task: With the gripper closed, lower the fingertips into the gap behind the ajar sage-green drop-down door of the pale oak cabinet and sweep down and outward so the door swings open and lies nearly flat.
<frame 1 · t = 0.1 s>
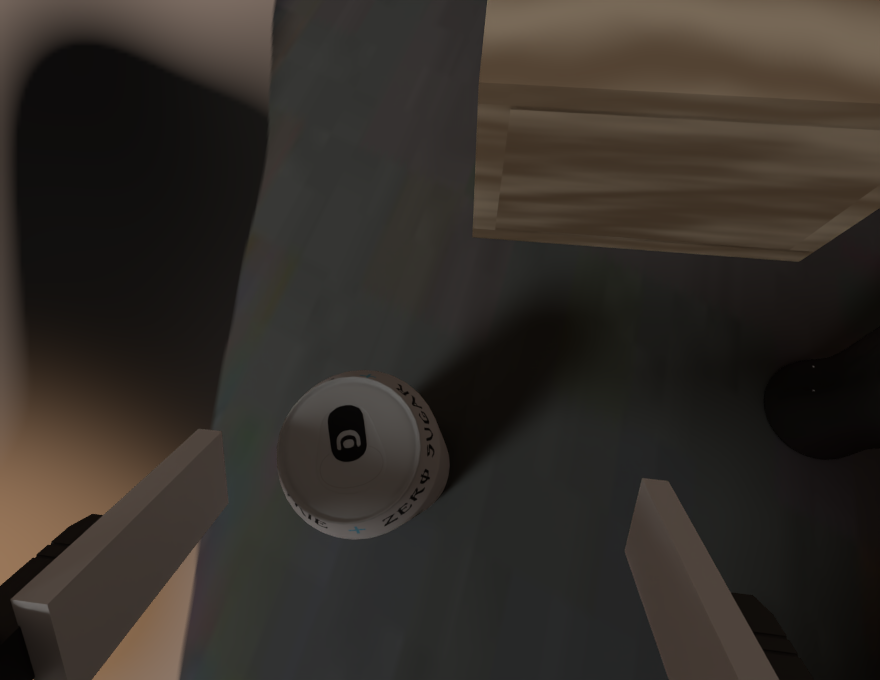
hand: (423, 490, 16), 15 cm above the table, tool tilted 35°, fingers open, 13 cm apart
beer glass: (811, 409, 31), on the table
energy drink can: (401, 465, 31), on the table
cabinet: (631, 162, 36), on the table
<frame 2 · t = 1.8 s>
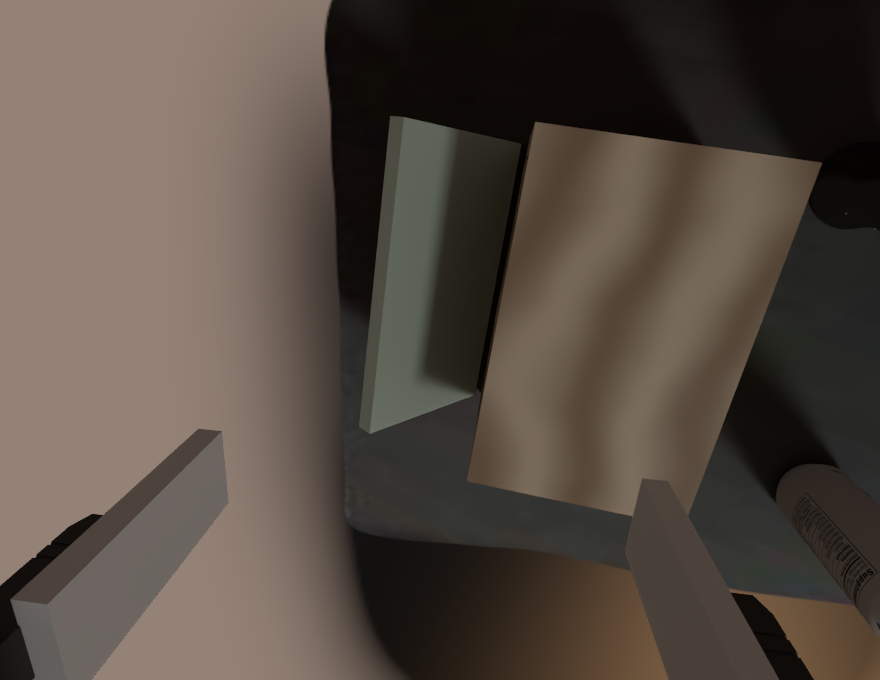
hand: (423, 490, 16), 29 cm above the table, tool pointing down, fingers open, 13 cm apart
door: (436, 281, 37), point 6 cm above the table, hinge at 35.0°
beer glass: (853, 186, 37), on the table
energy drink can: (806, 486, 44), on the table
cabinet: (585, 291, 42), on the table
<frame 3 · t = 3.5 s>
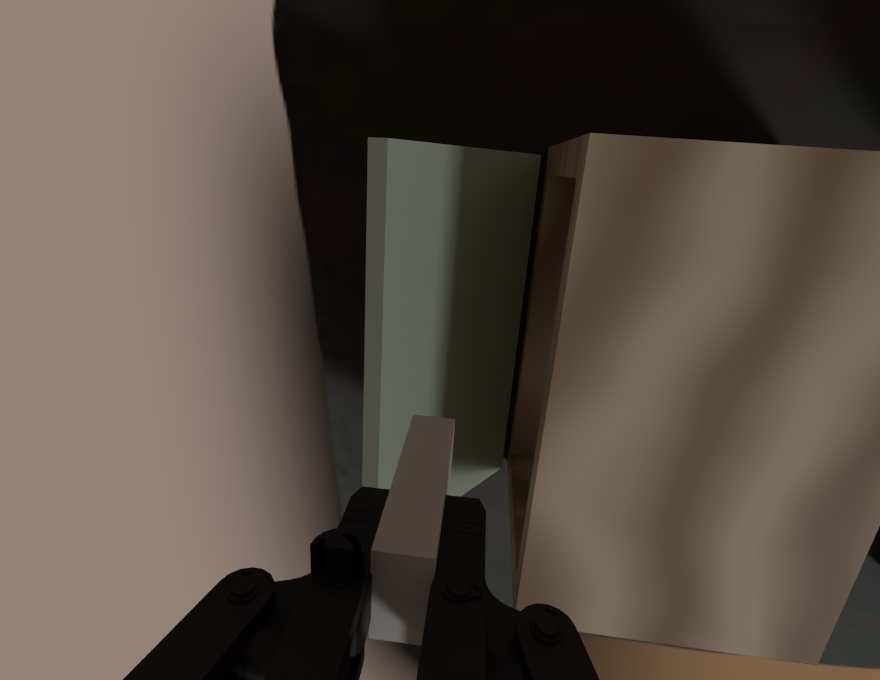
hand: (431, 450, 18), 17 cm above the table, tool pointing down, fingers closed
door: (446, 344, 28), point 6 cm above the table, hinge at 35.0°
cabinet: (632, 331, 33), on the table
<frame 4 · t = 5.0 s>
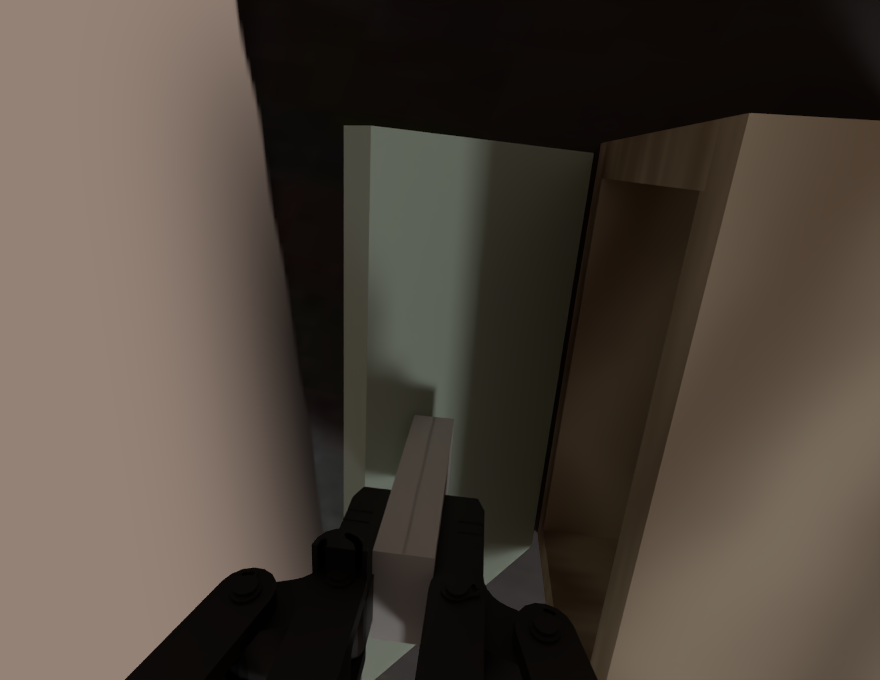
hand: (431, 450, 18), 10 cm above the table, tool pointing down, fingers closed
door: (461, 404, 21), point 6 cm above the table, hinge at 38.5°, touching gripper
cabinet: (701, 379, 26), on the table
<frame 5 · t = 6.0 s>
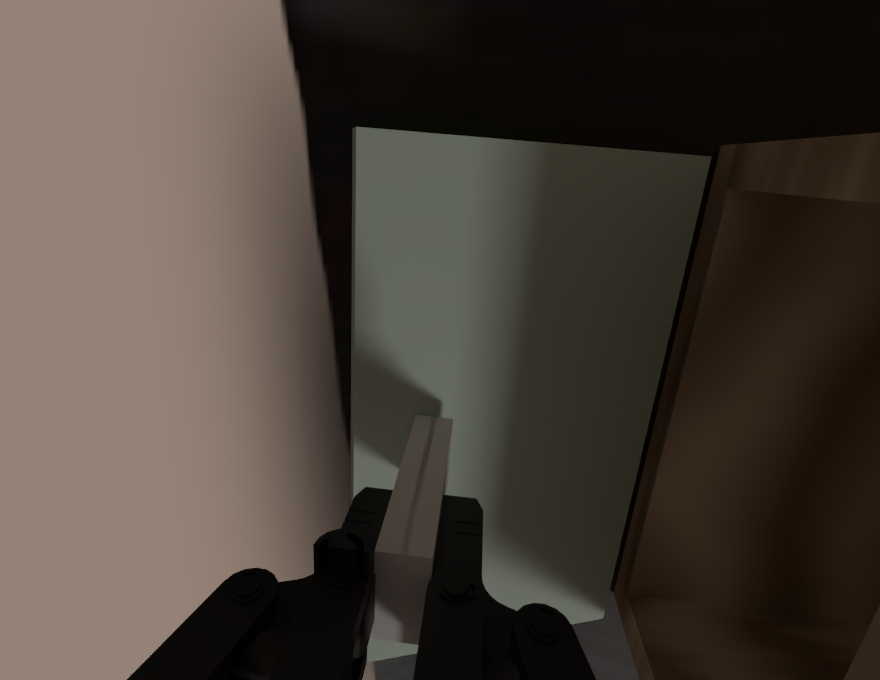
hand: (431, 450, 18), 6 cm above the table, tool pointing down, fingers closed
door: (502, 423, 20), point 3 cm above the table, hinge at 70.8°, touching gripper
cabinet: (819, 422, 22), on the table
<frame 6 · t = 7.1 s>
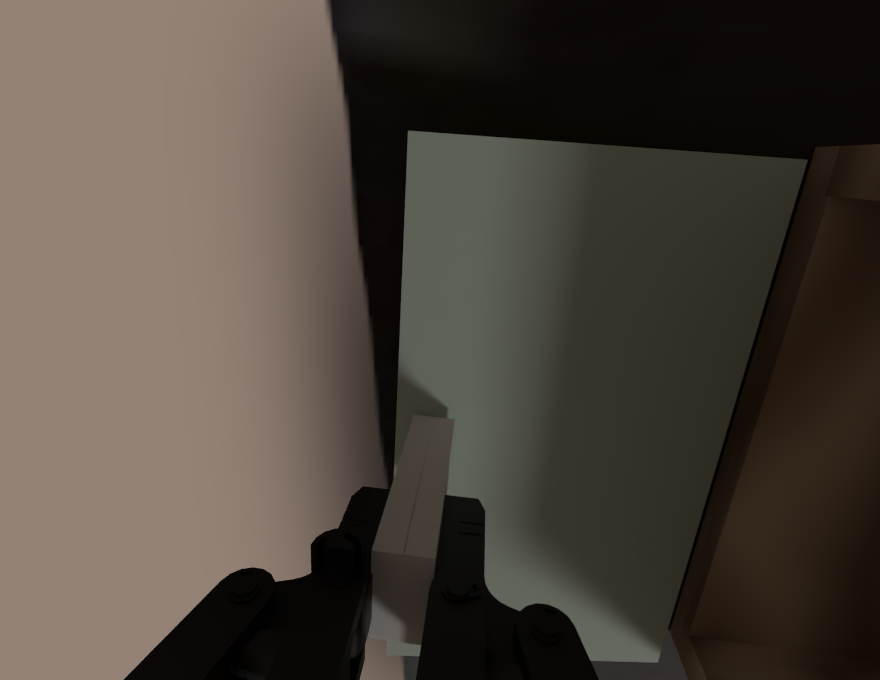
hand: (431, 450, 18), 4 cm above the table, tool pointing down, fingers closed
door: (552, 436, 19), point 2 cm above the table, hinge at 83.3°, touching gripper
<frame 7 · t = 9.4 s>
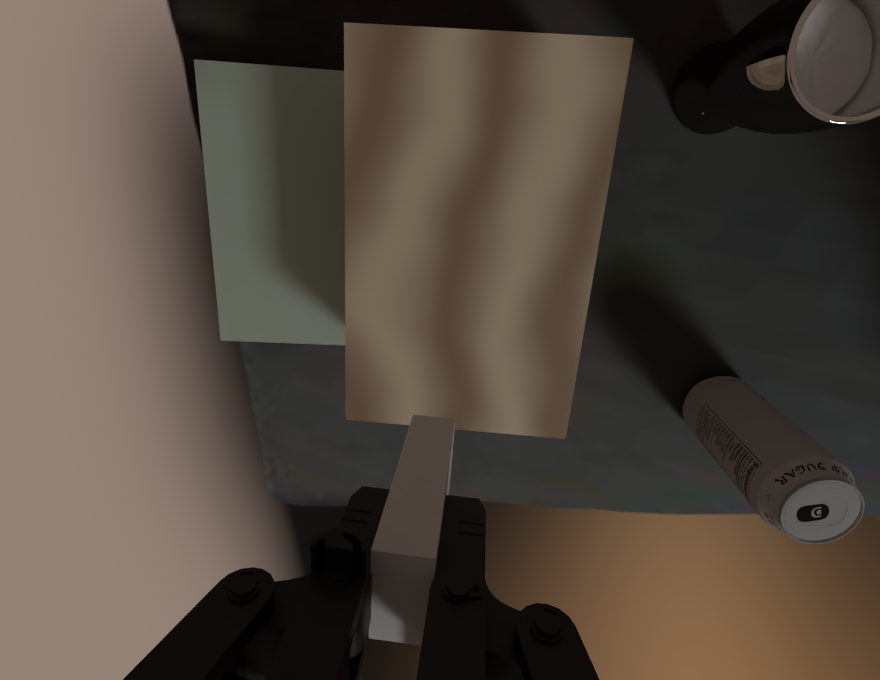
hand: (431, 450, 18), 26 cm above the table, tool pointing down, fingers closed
door: (290, 215, 40), point 2 cm above the table, hinge at 83.3°
beer glass: (713, 90, 37), on the table
energy drink can: (712, 401, 45), on the table
cabinet: (470, 225, 41), on the table
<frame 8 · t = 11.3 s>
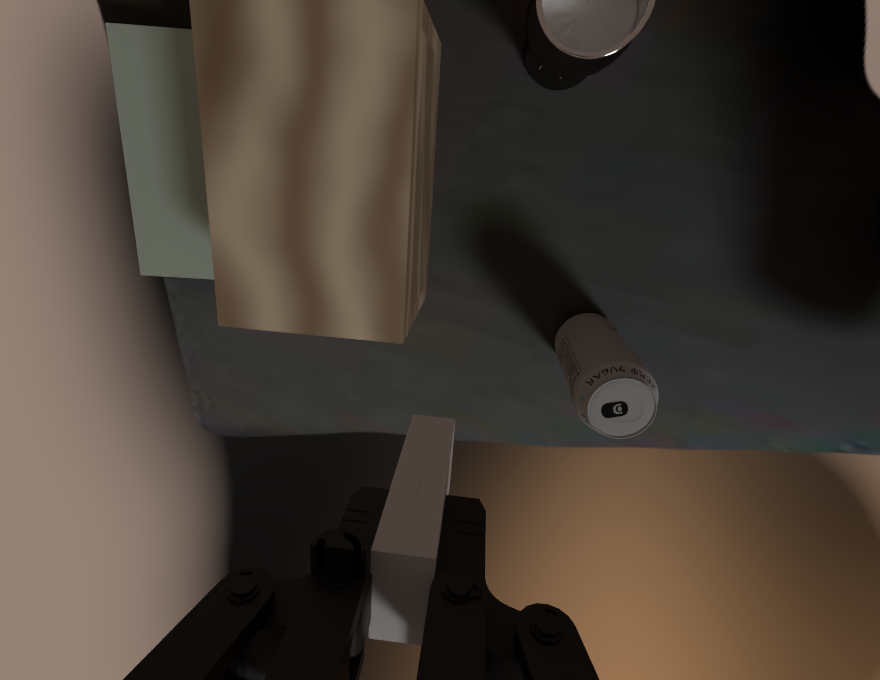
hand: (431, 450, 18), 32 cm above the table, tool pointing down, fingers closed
door: (198, 163, 45), point 2 cm above the table, hinge at 83.3°
beer glass: (560, 50, 41), on the table
energy drink can: (584, 338, 50), on the table
cabinet: (358, 174, 46), on the table
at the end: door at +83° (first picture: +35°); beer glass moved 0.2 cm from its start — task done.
